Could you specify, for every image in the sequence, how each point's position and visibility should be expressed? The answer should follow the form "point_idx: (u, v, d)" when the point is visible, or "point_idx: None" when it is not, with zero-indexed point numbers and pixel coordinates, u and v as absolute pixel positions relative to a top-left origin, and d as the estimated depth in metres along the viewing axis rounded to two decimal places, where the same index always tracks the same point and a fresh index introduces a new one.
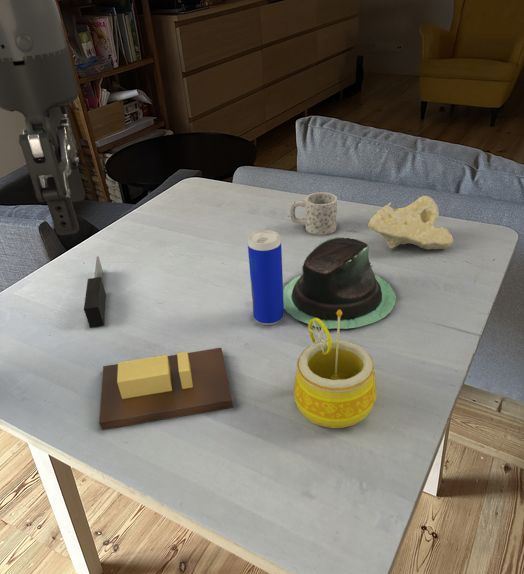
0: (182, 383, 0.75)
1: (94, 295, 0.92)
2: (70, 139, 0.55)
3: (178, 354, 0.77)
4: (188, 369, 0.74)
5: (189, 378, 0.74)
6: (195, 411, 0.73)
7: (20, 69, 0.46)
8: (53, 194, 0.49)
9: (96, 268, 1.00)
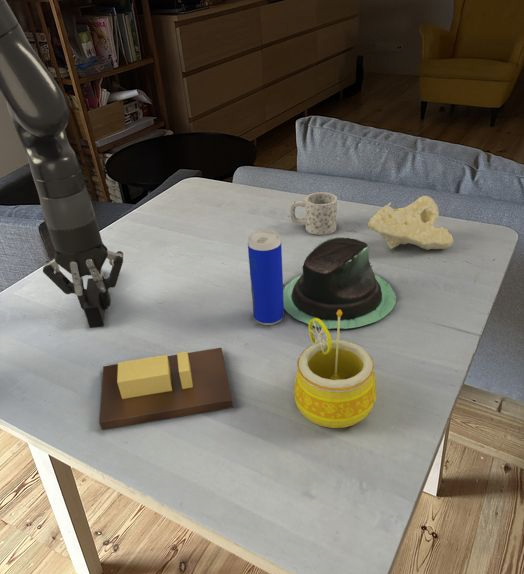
0: (182, 383, 0.75)
1: (94, 295, 0.92)
2: (89, 270, 0.89)
3: (178, 354, 0.77)
4: (188, 369, 0.74)
5: (189, 378, 0.74)
6: (195, 411, 0.73)
7: None
8: None
9: None
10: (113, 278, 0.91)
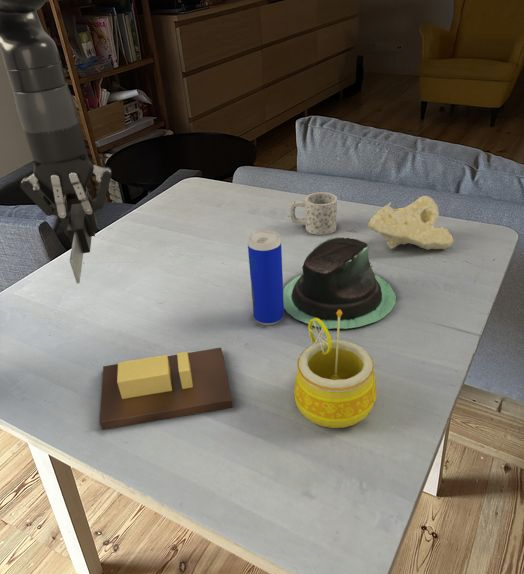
0: (182, 383, 0.75)
1: (75, 212, 0.84)
2: None
3: (178, 354, 0.77)
4: (188, 369, 0.74)
5: (189, 378, 0.74)
6: (195, 411, 0.73)
7: None
8: None
9: (73, 244, 0.76)
10: None
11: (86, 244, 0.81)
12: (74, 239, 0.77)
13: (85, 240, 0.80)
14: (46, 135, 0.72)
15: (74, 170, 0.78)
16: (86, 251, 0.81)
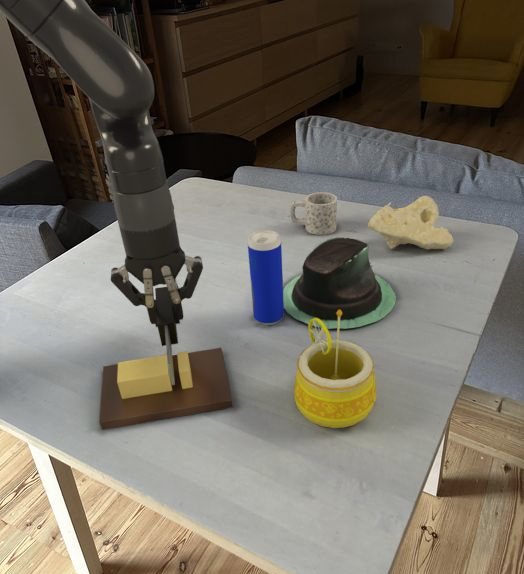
0: (182, 383, 0.75)
1: (161, 299, 0.81)
2: None
3: (178, 354, 0.77)
4: (188, 369, 0.74)
5: (189, 378, 0.74)
6: (195, 411, 0.73)
7: (175, 221, 0.72)
8: None
9: (167, 342, 0.73)
10: None
11: (175, 336, 0.78)
12: (166, 335, 0.74)
13: (174, 332, 0.77)
14: (145, 234, 0.69)
15: (166, 263, 0.75)
16: (174, 342, 0.78)
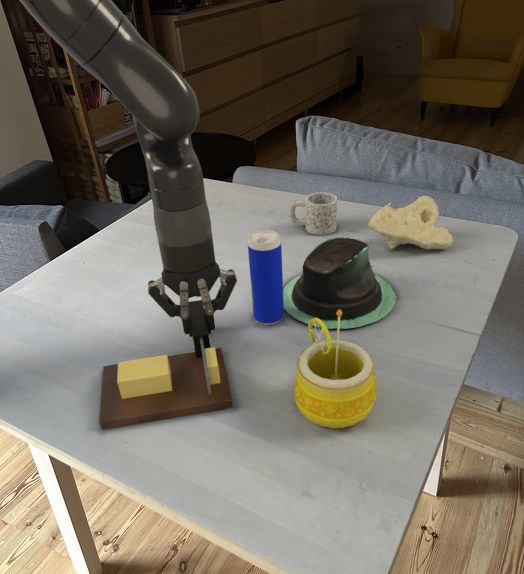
0: (210, 379, 0.75)
1: (194, 313, 0.83)
2: None
3: (206, 350, 0.77)
4: (216, 365, 0.74)
5: (217, 374, 0.75)
6: (195, 411, 0.73)
7: None
8: None
9: (203, 354, 0.75)
10: None
11: None
12: (202, 347, 0.77)
13: (209, 344, 0.80)
14: (184, 249, 0.71)
15: (202, 276, 0.77)
16: None
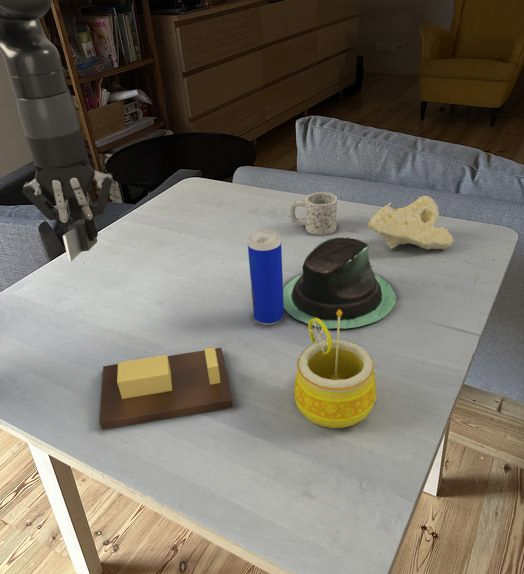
0: (210, 379, 0.75)
1: (79, 221, 0.86)
2: None
3: (206, 350, 0.77)
4: (216, 365, 0.74)
5: (217, 374, 0.75)
6: (195, 411, 0.73)
7: (81, 133, 0.76)
8: None
9: (70, 231, 0.76)
10: None
11: (85, 241, 0.81)
12: (72, 229, 0.78)
13: (84, 237, 0.81)
14: (47, 141, 0.72)
15: (75, 175, 0.78)
16: (85, 249, 0.81)
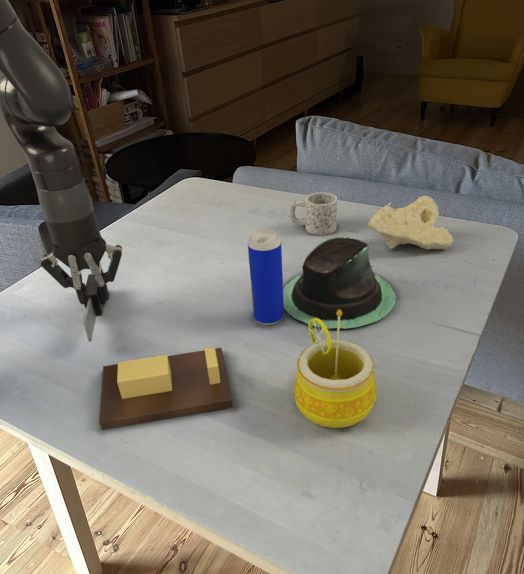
0: (210, 379, 0.75)
1: (90, 281, 0.95)
2: None
3: (206, 350, 0.77)
4: (216, 365, 0.74)
5: (217, 374, 0.75)
6: (195, 411, 0.73)
7: (94, 214, 0.85)
8: None
9: (87, 308, 0.86)
10: None
11: (99, 308, 0.91)
12: (88, 303, 0.87)
13: (98, 304, 0.91)
14: (65, 225, 0.81)
15: (89, 250, 0.87)
16: (99, 314, 0.91)
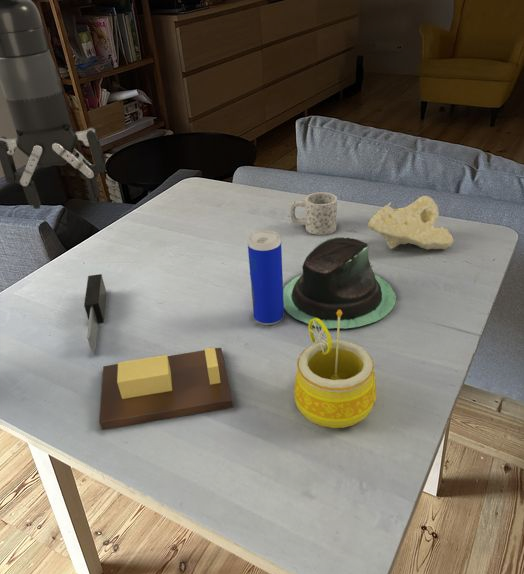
0: (210, 379, 0.75)
1: (91, 285, 0.95)
2: None
3: (206, 350, 0.77)
4: (216, 365, 0.74)
5: (217, 374, 0.75)
6: (195, 411, 0.73)
7: (63, 96, 0.74)
8: (104, 164, 0.81)
9: (90, 320, 0.87)
10: None
11: (101, 315, 0.91)
12: (90, 314, 0.88)
13: (100, 312, 0.91)
14: (27, 102, 0.70)
15: (57, 141, 0.76)
16: (100, 321, 0.92)
